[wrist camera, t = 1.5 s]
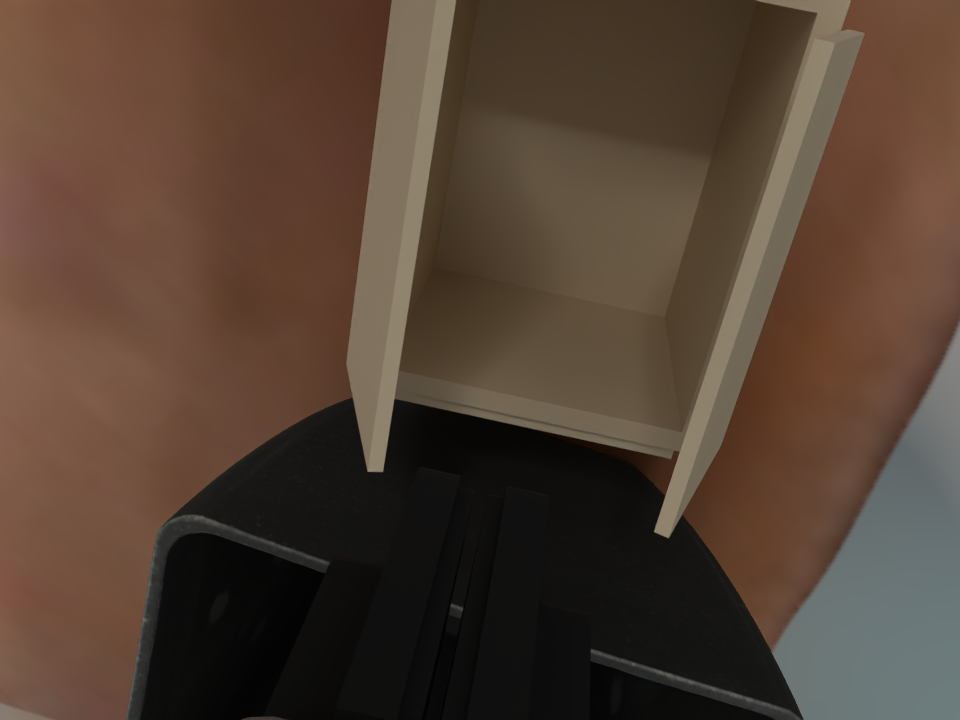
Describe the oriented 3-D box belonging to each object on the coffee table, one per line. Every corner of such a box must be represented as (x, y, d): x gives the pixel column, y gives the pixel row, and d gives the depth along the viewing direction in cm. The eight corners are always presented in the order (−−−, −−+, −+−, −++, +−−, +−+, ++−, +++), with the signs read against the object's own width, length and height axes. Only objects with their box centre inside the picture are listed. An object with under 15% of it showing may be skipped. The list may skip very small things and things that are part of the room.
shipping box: (477, -108, 32) (428, -119, 23) (789, -46, 32) (862, -32, 23) (415, 285, 39) (359, 395, 30) (672, 340, 38) (693, 468, 29)
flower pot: (325, 288, 39) (151, 516, 24) (743, 423, 40) (828, 731, 25) (249, 610, 48) (86, 928, 33) (594, 719, 48) (590, 1084, 33)
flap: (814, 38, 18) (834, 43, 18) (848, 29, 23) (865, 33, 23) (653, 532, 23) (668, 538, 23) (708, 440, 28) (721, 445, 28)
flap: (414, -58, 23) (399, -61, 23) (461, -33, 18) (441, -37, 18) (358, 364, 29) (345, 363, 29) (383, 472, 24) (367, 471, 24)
